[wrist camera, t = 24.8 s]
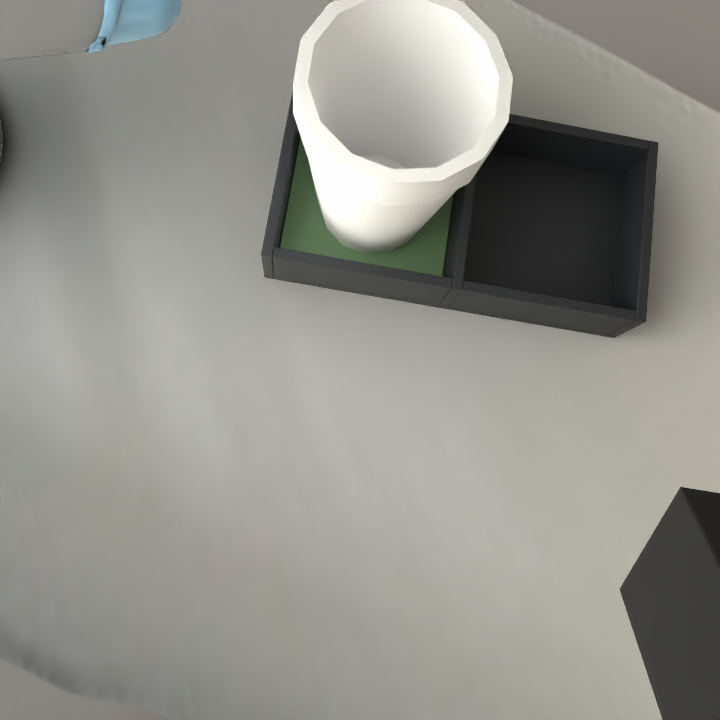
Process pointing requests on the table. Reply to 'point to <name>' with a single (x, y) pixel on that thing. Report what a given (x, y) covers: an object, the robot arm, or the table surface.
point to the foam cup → (396, 112)
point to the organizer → (497, 233)
